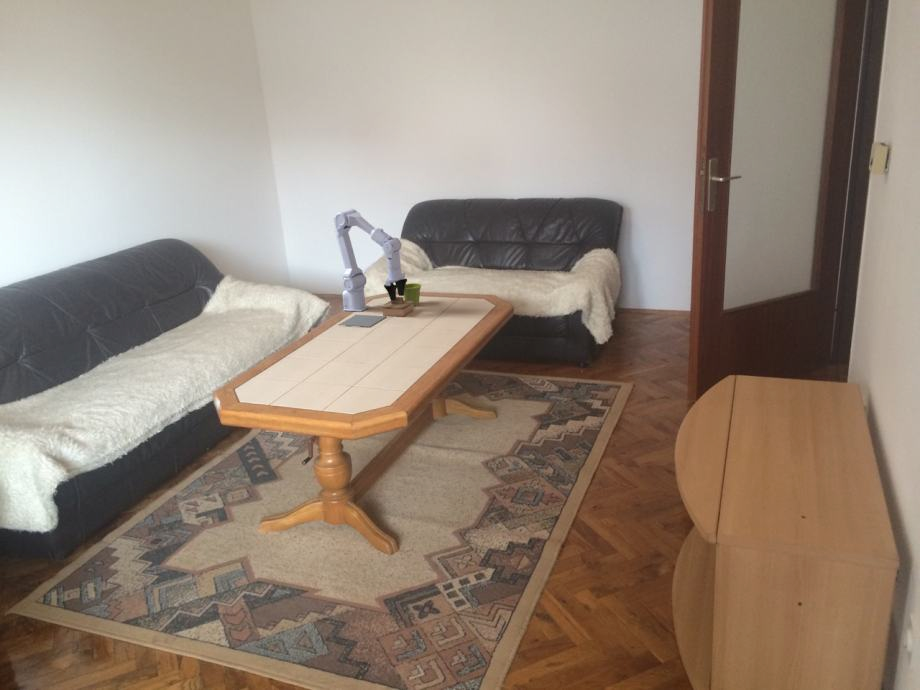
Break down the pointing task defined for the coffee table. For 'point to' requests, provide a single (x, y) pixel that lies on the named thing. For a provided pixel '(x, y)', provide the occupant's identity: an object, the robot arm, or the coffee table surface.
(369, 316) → the mat
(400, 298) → the lid
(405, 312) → the dish
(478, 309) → the coffee table surface
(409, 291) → the plant pot
